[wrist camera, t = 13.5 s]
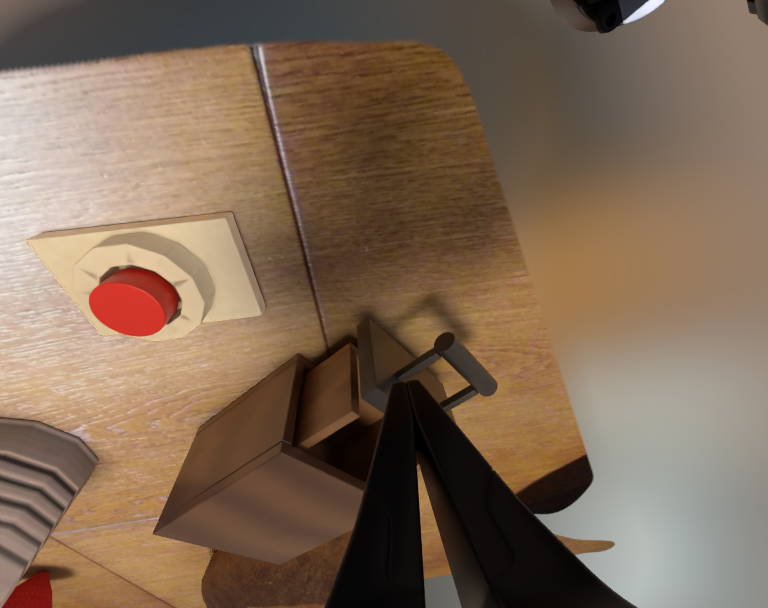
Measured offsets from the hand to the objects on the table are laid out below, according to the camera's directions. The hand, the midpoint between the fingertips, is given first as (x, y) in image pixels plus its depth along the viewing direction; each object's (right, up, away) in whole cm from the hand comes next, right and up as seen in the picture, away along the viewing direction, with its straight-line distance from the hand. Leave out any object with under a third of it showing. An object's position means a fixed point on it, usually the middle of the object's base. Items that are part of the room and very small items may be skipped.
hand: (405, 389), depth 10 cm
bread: (-12, -35, +38) cm, 53 cm away
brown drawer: (-2, -4, +17) cm, 17 cm away
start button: (-15, +3, +8) cm, 17 cm away
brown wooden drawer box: (-9, -9, +20) cm, 24 cm away
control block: (-15, +5, +11) cm, 19 cm away
